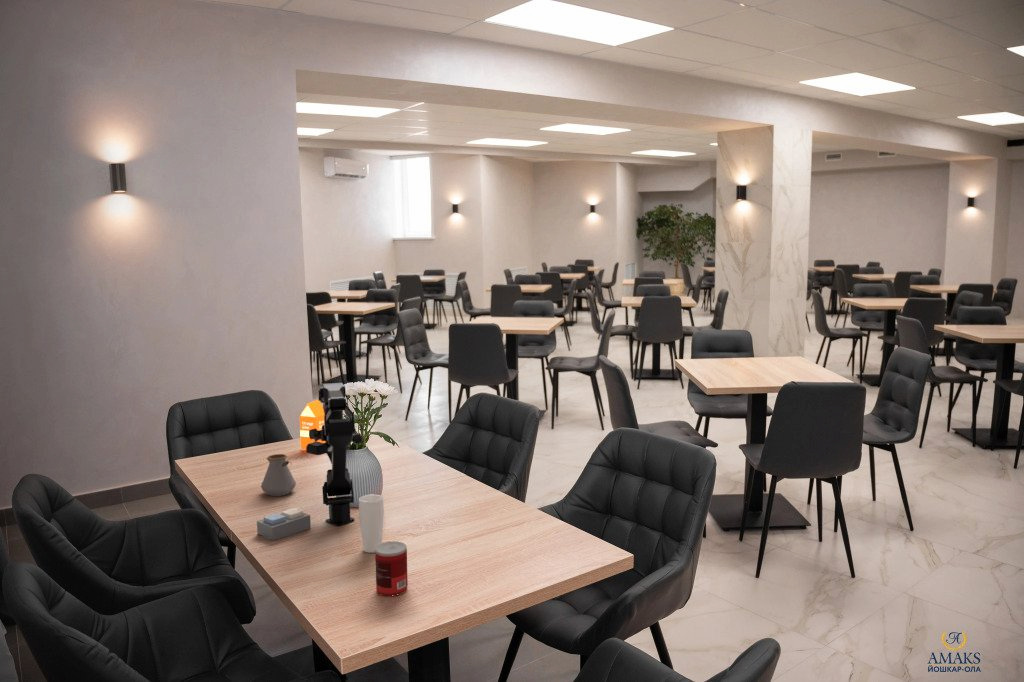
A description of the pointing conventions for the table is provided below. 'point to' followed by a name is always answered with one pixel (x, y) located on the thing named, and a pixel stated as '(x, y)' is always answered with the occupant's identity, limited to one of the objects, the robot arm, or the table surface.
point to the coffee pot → (278, 476)
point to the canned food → (391, 568)
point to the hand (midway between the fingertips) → (335, 469)
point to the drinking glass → (371, 521)
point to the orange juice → (311, 422)
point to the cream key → (292, 513)
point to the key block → (283, 527)
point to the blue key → (274, 519)
